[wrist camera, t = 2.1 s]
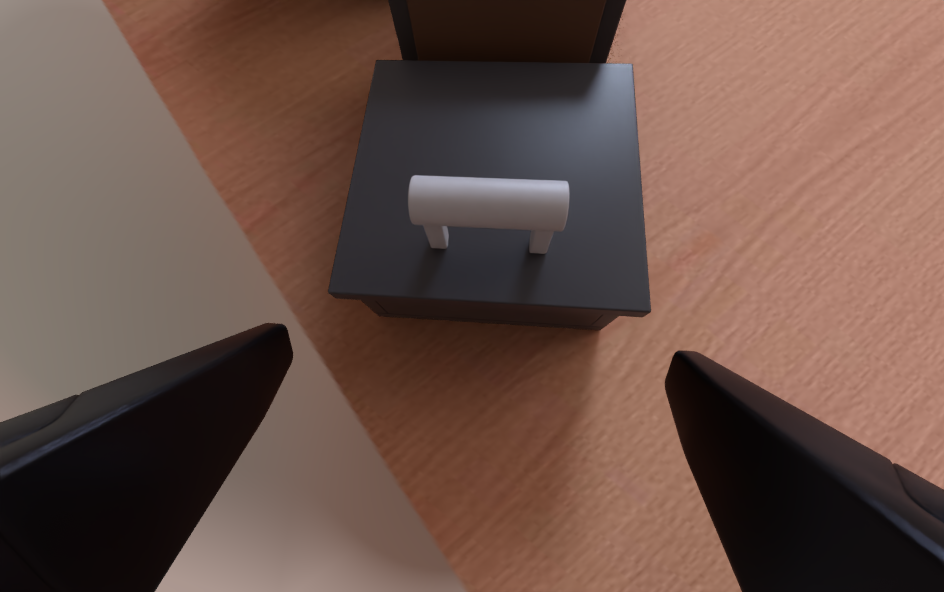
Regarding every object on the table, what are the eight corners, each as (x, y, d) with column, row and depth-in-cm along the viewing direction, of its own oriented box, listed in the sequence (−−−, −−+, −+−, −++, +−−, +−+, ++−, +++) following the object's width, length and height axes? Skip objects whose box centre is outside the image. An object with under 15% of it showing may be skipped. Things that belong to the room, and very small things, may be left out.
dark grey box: (600, 330, 20) (641, 299, 15) (378, 316, 21) (338, 281, 16) (595, 156, 24) (627, 78, 18) (405, 150, 25) (380, 74, 19)
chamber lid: (643, 317, 15) (708, 275, 10) (334, 298, 15) (273, 252, 11) (627, 77, 18) (670, -28, 14) (380, 73, 19) (347, -28, 15)
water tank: (582, 135, 24) (641, -43, 15) (419, 131, 25) (376, -42, 16) (581, 66, 26) (632, -132, 17) (429, 63, 27) (396, -127, 18)
